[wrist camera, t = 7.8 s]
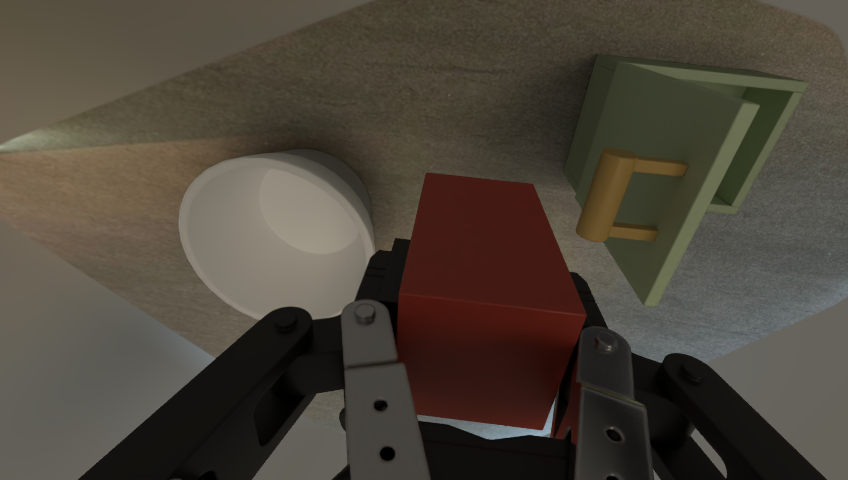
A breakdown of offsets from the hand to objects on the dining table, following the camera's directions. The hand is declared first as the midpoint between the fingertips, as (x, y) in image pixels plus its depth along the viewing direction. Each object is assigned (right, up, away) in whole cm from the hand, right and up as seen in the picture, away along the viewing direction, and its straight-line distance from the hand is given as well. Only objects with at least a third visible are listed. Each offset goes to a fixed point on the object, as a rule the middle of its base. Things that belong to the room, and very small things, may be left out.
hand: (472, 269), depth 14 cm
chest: (+21, +12, +25) cm, 35 cm away
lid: (+13, +6, +13) cm, 19 cm away
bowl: (-15, +5, +33) cm, 37 cm away
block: (0, +2, +3) cm, 4 cm away
